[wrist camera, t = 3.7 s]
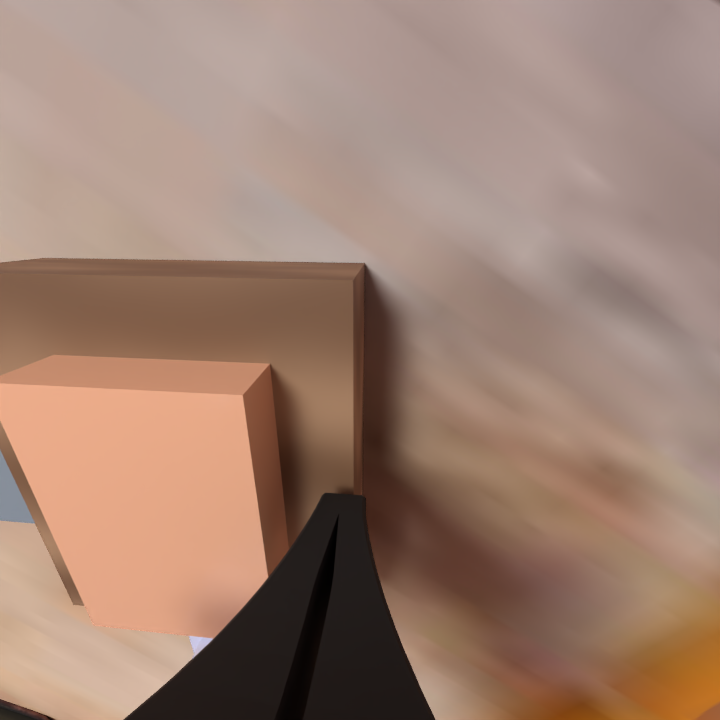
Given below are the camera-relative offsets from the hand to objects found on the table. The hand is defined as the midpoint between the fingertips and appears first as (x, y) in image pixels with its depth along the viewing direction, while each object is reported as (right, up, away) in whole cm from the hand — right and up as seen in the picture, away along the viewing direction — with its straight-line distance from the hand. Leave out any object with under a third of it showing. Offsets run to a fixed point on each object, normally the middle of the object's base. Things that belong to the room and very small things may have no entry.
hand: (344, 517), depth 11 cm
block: (-6, +1, +1) cm, 6 cm away
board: (-6, +2, +5) cm, 8 cm away
